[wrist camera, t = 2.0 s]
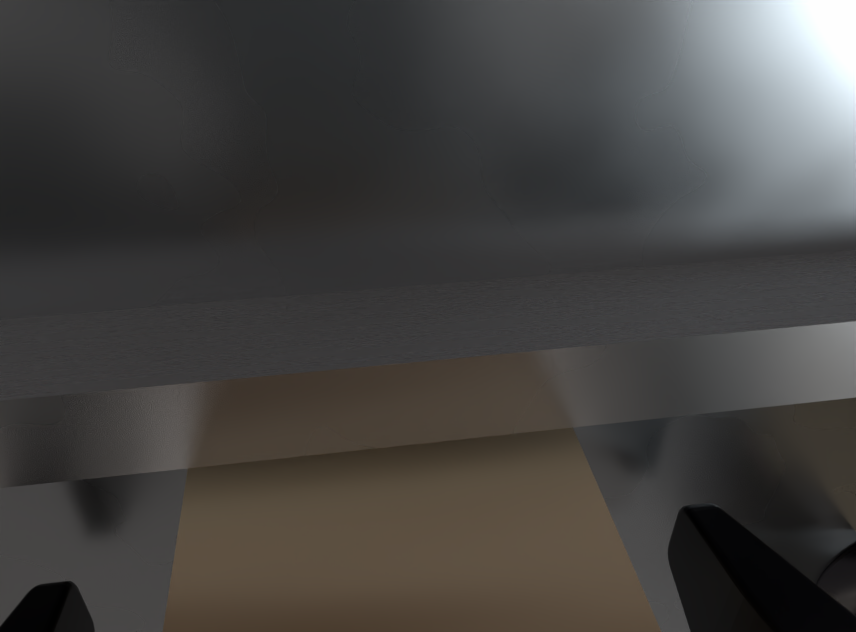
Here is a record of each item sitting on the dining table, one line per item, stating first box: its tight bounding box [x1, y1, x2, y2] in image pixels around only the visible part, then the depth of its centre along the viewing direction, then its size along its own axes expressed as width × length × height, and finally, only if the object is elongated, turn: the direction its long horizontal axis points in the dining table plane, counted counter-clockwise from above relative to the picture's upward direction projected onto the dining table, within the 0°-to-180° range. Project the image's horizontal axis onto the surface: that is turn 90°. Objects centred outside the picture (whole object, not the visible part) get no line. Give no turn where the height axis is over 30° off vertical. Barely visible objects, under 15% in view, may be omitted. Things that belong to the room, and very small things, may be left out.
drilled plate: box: [0, 0, 856, 632], centre depth 9 cm, size 14×20×4 cm
